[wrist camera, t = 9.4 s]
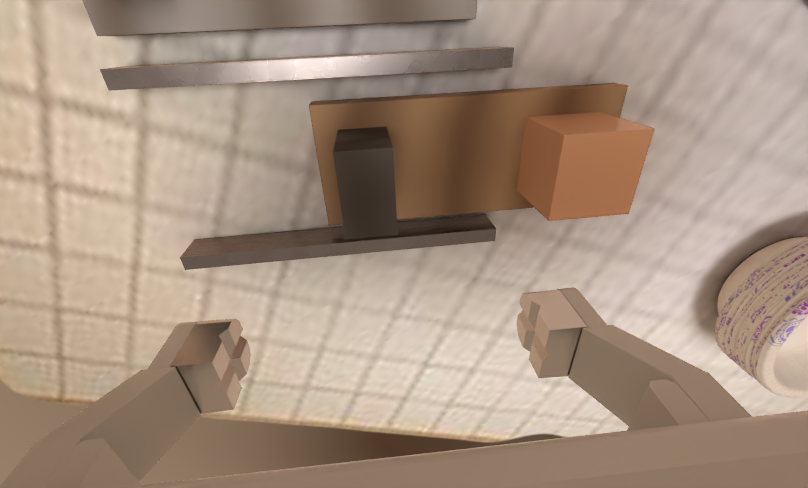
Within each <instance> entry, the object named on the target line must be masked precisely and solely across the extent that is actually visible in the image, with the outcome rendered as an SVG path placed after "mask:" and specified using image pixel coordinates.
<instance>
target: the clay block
mask: <svg viewBox="0 0 808 488" xmlns="http://www.w3.org/2000/svg"><path fill="white" fill-rule="evenodd" d="M653 132H654V128H651V127H647V126H644V125H641V124H638V123H634V122H631V121H628V120H624V119H621V118H618V117H615V116H611V115H608V114H605V113H602V112H591V113H577V114H562V115H547V116H532V117H526V118H525V126H524V134H523V142H522V151H521V159H520V167H519V175H518V183H517V191H518V192H519V193H520V194H521V195H522V196H523V197H524V198H525V199H526V200H528V201H529V202H530V203H531V204H532V205H533V206H534V207H535V208H536V209H537V210H538V211H539V212H540V213H541V214H542V215H543V216H544V217H545V218H546V219H547V220H548V221H553V220H565V219H576V218H587V217H598V216H609V215H620V214H629V211H630V208H631V204H632V201H633V198H634V194H635V191H636V188H637V184H638V181H639V178H640V175H641V171H642V168H643V165H644V161H645V158H646V155H647V152H648V148H649V145H650V142H651V138H652V135H653Z"/></svg>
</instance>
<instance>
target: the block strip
mask: <svg viewBox="0 0 808 488" xmlns="http://www.w3.org/2000/svg"><path fill="white" fill-rule="evenodd" d="M627 87H628V86H627V85H621V84H616V83H606V84H590V85H574V86H558V87H541V88H525V89H509V90H493V91H477V92H460V93H444V94H428V95H412V96H395V97H379V98H363V99H347V100H331V101H314V102H311V103H310V105H309V109H310V115H311V121H312V127H313V133H314V139H315V145H316V151H317V157H318V163H319V169H320V175H321V181H322V187H323V193H324V199H325V205H326V211H327V217H328V223H329V225H339V224H343V226H344V233H345V239H355V238H366V237H377V236H388V235H398V227H397V219H407V218H419V217H430V216H442V215H453V214H465V213H476V212H488V211H499V210H510V209H522V208H533V207H534V206H533V205H532V204H531V203H530V202H529V201H528V200H526V199H525V198H524V197H523V196H522V195H521V194H520V193H519V192H518V191H517V183H518V175H519V167H520V159H521V151H522V142H523V134H524V126H525V118H526V117H532V116H547V115H562V114H577V113H591V112H602V113H605V114H608V115H611V116H615V117H618V118H620V115H621V111H622V107H623V103H624V99H625V95H626V91H627Z"/></svg>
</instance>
